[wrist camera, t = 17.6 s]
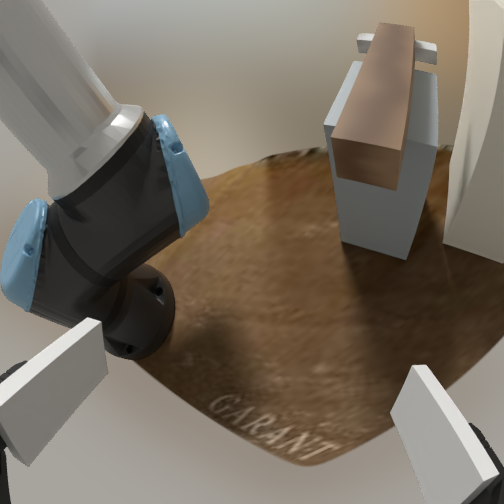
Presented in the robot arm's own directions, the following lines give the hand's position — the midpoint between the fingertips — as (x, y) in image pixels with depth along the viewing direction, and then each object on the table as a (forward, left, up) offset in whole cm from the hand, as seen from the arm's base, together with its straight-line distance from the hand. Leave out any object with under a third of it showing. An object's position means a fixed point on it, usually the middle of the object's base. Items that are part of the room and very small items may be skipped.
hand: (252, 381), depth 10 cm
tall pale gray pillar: (+1, +24, -22) cm, 33 cm away
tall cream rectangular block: (+15, +29, -22) cm, 40 cm away
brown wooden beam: (+1, +24, -3) cm, 24 cm away
